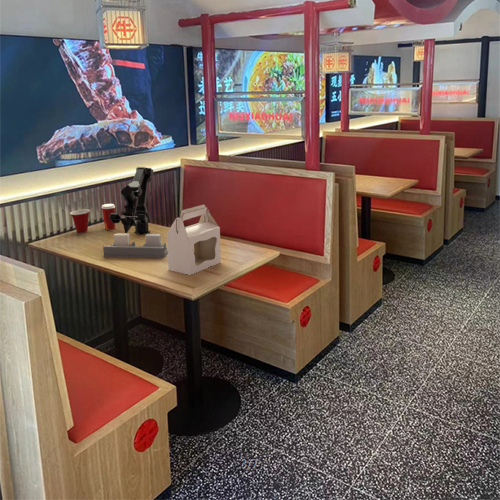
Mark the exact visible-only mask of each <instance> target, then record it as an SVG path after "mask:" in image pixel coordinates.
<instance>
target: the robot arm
mask: <svg viewBox="0 0 500 500" xmlns="http://www.w3.org/2000/svg"><path fill="white" fill-rule="evenodd" d="M153 176H154V169H152V167H145V166H137V167H136V168H135V174H134V177H133V179H132V181H131V182H130V183H128V185H125V187H123V188H122V189H121V191H120V194H121V196H122V198H123V200H124V201H125V204H124V210H123V211H124V212H122V215H119V213H111V214H110V216H109V218H110V220H111V222H112V223H115V224H119V223H120V222H121V224H122V226H123V230H124V234H128V232H129V231H130V230H131V228H132V227H134V233H136V234H138V235H144V234H145V235H146V234H151V231H149V223H151V216H150V215H149V210H148V209H147V207H146V206H147V197H148V188H149V183H151V181H152V180H153Z"/></svg>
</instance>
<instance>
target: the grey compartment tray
mask: <svg viewBox="0 0 500 500" xmlns="http://www.w3.org/2000/svg"><path fill="white" fill-rule="evenodd" d="M102 250H103V251H102V252H103V258H130V259H131V258H134V259H135V258H137V259H143V258H144V259H164V258H165V257H166V256H168V251H167V242H163V243H161V247H146V242H145V243H144V244H143V245H141V246H140V245H137V246H136V241H132V242H130V245H129V246H115V245H114V242H113V243H112V244H111V245H103V246H102Z"/></svg>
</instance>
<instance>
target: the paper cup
mask: <svg viewBox="0 0 500 500" xmlns="http://www.w3.org/2000/svg"><path fill="white" fill-rule="evenodd" d="M101 209H102V211H101V212H102V217H103V223H104V229H105V230H106V231H112V230H116V223H112V222H111V220H110V218H109V216H110V214H111V213H115V212H116V206H115V204H114V203H105V204H102V205H101ZM115 214H116V213H115Z"/></svg>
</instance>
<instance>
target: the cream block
mask: <svg viewBox="0 0 500 500" xmlns="http://www.w3.org/2000/svg"><path fill="white" fill-rule="evenodd" d="M113 243H114V245H115V246H129V245H130V244H131V240H130V233H125V232H124V233H115V234H113Z"/></svg>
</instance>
